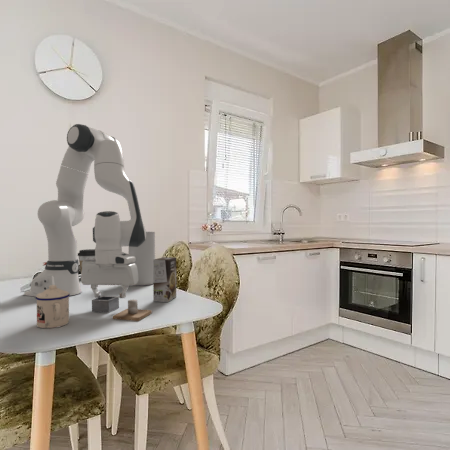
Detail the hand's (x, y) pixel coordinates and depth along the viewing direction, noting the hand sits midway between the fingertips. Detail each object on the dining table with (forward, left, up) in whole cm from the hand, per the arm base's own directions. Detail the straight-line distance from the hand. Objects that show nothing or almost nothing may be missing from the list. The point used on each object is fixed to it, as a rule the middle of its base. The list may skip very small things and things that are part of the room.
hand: (110, 297), depth 120 cm
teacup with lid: (-6, -20, -4) cm, 21 cm away
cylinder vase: (-11, +46, -4) cm, 48 cm away
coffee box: (+13, +18, -4) cm, 23 cm away
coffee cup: (-45, +53, -4) cm, 70 cm away
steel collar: (-1, -1, -4) cm, 4 cm away
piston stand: (+12, -6, -4) cm, 14 cm away
